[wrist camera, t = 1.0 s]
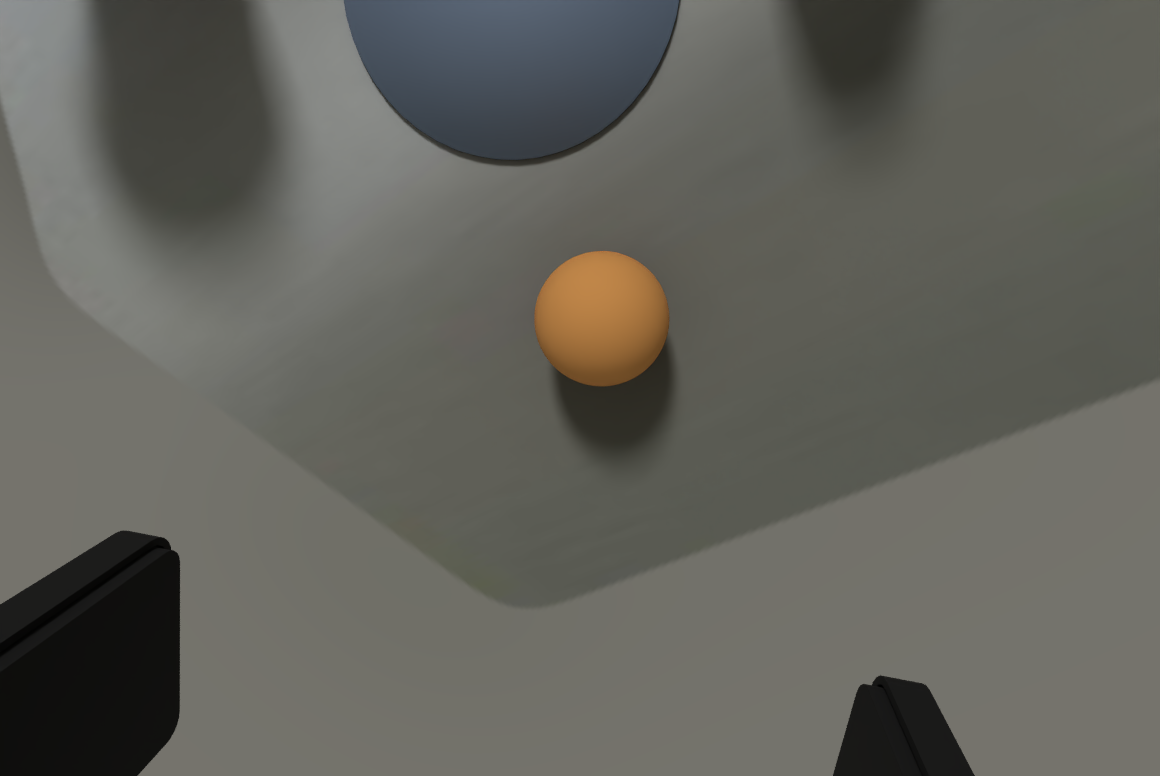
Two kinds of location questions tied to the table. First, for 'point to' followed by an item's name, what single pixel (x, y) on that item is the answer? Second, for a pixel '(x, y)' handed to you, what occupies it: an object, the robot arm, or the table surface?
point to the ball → (601, 318)
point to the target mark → (511, 66)
